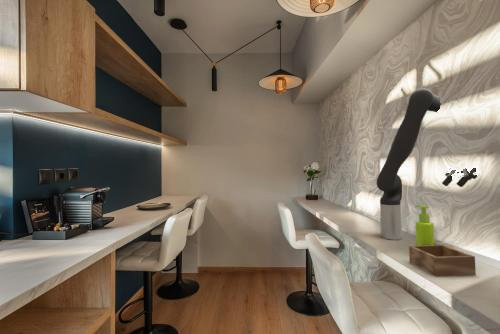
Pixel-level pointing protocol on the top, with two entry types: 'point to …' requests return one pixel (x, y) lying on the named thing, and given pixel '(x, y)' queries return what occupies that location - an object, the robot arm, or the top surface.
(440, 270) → the walnut box
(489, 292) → the top surface
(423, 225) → the soap dispenser
